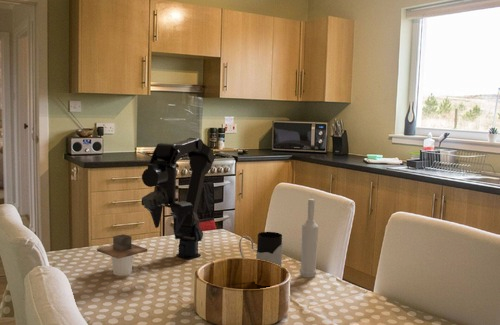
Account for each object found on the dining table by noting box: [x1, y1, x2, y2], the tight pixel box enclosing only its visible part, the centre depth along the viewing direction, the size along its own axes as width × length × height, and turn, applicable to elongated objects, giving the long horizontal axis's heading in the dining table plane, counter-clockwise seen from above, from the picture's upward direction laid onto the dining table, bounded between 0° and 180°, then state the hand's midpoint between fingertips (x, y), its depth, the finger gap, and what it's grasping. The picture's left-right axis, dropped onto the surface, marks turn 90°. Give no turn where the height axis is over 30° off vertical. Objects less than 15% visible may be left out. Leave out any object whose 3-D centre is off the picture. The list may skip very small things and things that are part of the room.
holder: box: [238, 231, 283, 267], centre depth 160 cm, size 9×14×15 cm, turn 72°
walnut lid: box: [96, 233, 148, 259], centre depth 164 cm, size 11×11×5 cm
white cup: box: [111, 255, 134, 277], centre depth 164 cm, size 7×7×7 cm
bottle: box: [299, 198, 319, 279], centre depth 166 cm, size 5×5×25 cm
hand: (166, 230), depth 168 cm, fingers open, 9 cm apart
